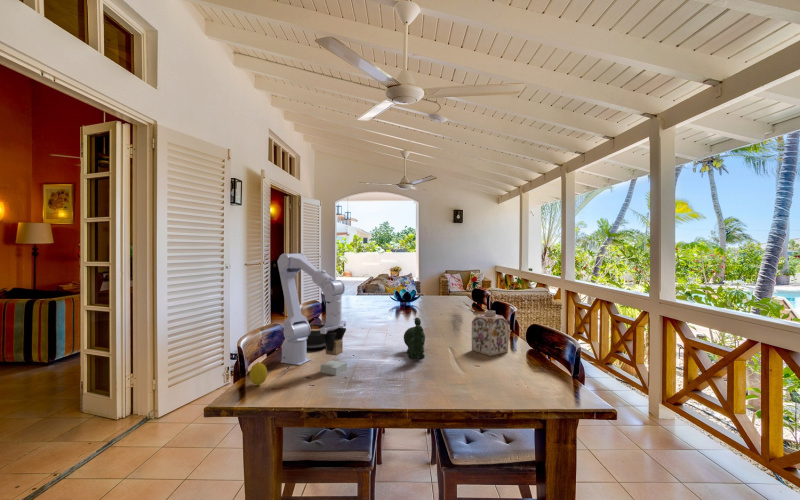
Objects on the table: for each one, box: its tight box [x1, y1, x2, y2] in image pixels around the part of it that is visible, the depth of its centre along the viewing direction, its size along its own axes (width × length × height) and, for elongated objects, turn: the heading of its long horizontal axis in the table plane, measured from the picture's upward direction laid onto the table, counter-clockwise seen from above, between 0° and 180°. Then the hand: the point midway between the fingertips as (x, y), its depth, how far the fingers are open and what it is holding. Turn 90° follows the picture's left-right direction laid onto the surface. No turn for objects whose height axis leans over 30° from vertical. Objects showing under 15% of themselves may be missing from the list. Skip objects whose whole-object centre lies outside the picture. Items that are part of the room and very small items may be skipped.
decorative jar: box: [471, 310, 509, 357], centre depth 173 cm, size 12×12×18 cm
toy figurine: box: [403, 317, 426, 360], centre depth 167 cm, size 9×19×25 cm
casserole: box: [306, 323, 326, 349], centre depth 184 cm, size 25×19×8 cm
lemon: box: [249, 361, 268, 387], centre depth 131 cm, size 6×6×8 cm
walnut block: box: [325, 338, 344, 356], centre depth 146 cm, size 4×4×5 cm
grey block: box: [320, 359, 348, 376], centre depth 146 cm, size 7×7×3 cm
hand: (333, 348), depth 146 cm, fingers closed on walnut block, 4 cm apart
